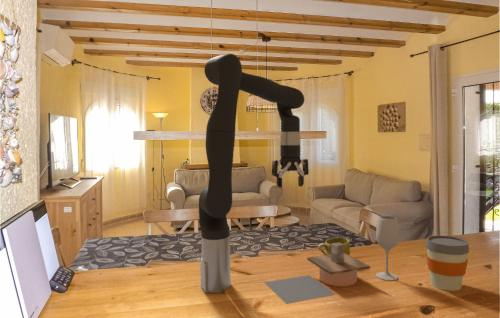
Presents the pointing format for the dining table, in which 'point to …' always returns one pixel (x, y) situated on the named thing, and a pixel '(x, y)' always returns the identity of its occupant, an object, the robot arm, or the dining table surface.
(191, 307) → the dining table surface
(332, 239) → the mug
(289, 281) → the mat
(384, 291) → the dining table surface
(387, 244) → the wineglass
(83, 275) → the dining table surface
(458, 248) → the reusable coffee cup
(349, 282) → the bowl
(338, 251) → the lid
